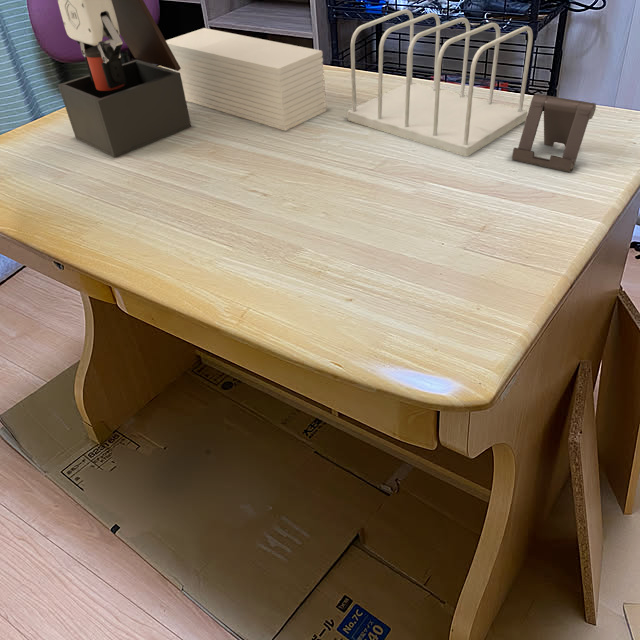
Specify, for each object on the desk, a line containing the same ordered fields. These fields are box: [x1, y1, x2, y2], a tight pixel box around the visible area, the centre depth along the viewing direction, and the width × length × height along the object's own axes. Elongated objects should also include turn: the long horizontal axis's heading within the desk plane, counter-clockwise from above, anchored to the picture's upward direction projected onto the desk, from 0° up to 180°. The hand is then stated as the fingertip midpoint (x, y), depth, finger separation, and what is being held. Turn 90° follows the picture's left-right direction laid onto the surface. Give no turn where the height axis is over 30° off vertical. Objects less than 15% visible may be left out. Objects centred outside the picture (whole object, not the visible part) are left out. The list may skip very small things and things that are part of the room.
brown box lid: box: [111, 0, 181, 71], centre depth 104 cm, size 17×14×5 cm
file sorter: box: [347, 8, 534, 157], centre depth 102 cm, size 25×17×16 cm
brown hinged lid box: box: [57, 59, 192, 159], centre depth 109 cm, size 16×14×10 cm
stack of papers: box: [165, 27, 327, 132], centre depth 116 cm, size 32×11×11 cm, turn 48°
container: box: [85, 44, 124, 91], centre depth 104 cm, size 5×5×6 cm
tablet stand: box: [511, 93, 597, 173], centre depth 91 cm, size 9×8×8 cm
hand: (108, 81), depth 105 cm, fingers closed on container, 4 cm apart
